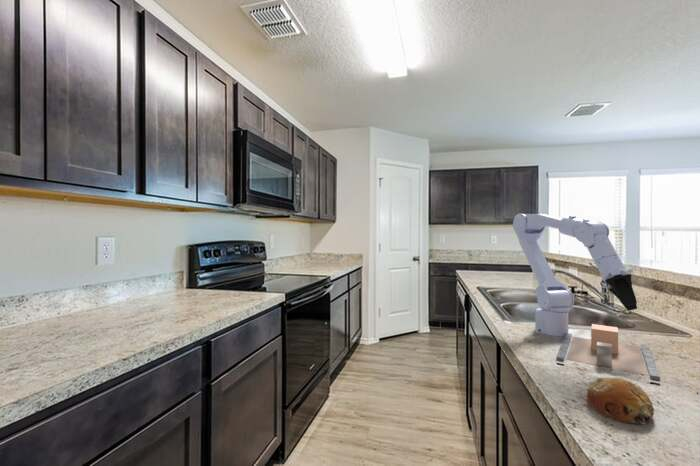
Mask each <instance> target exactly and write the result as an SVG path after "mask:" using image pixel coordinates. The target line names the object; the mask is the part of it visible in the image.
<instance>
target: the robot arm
mask: <svg viewBox="0 0 700 466" xmlns="http://www.w3.org/2000/svg"><path fill="white" fill-rule="evenodd" d="M547 227H548V228H549V227H550V228H554V229H557V230H558V231H559V233H560V234H562V235H565V236H568V237H572V238H575V239H576V240H577V241H578V242H581V243H582V244H583V246H584V247H585V248H586V249H587V251H588V252H589V255H590V256H591V258H592V261H593V262H594V264H595V266H596V268H597V270H598V272H599V274H600V276H601V279H602V281H603V282H605V284H607V285H608V286H610V287H609V288H607V290H608V292H610V293H611V294H613V295H614V296H615V297H616V298H617V299H618V300H619V301H620V303H621V304H622V306H623V307H624V308H625V309H626V310H627V311H633V310H637V309H638V306H637V303H638V301H637V298H636V294H635V291H634V288H633V283H632V274H634V269H632V268H631V269H630V268H629V269H627V268H626V267H625V264H624V263H623V262H622V261H623V260H622V259H621V258H620V256H619V254H618V252H617V251H616V249H615V247H614V245H613V244H612V242H611V240H610V238H609V235H610V229H609V227H608V225H607V224H605V223H604V222H602V221H596V222H595V221H593V222H591V221H590V219H587V218H584V219H580V218H577V215H576V216H575V215H568V216H565V217H563V218H559V217H557V216H553V215H549V214H546V213H545V214H543V213H518V214H516V215H515V217H514V219H513V222H512V228H513V230H514V232H515V234H516V236H517V238H518V242H519V245H520V247H521V249H522V252H523V254H524V255H525V258H526V260H527V262H528V264H529V266H530V269H531V270H532V273H533V275H534V276H535V278H536V280H537V283H538V285H537V286H536V288H535V290H534V292H535V294H536V300H537V304H538V306H540V307H537V308H536V309H535V315H534V316H535V317H534V319H535V320H534V321H535V322H534V323H535V326H534V329H535V331H534V332H535V333H538V334H544V335H548V336H554V337H564V336H565V334H566V333H569V312H570V311H571V308H572V307H573V306H574V304H575V295H574V294H573V292H572V291H571V290H570V289H568V287H567V285H566V284H565V283H563V282H561V281H560V280H558V279H557V278H556V277H555V274H554V273H553V270H552V269H551V267H550V264H549V263H548V261H547V259H546V256H545V255H544V253H543V251H542V249H541V247H540V245H539V243H538V240H539V239H540V238H541V237H542V234H543V233H544V231H545V228H547Z"/></svg>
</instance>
